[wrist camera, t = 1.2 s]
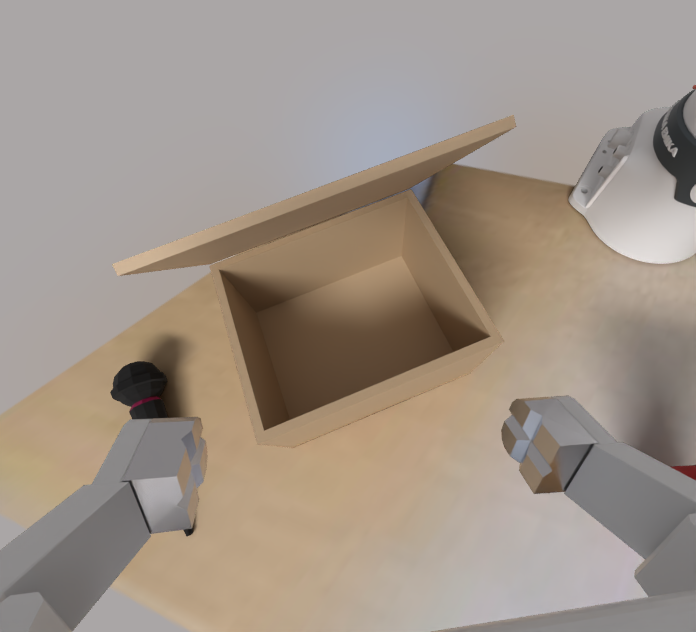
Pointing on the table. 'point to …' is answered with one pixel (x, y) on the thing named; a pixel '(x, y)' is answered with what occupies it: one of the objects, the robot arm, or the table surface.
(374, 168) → the flap
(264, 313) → the carton
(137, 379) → the microphone
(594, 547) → the table surface
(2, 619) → the robot arm
